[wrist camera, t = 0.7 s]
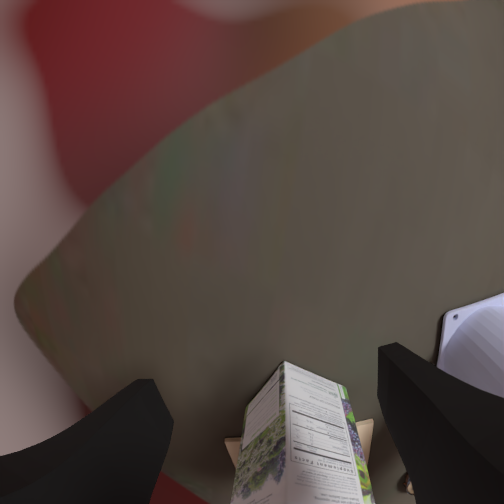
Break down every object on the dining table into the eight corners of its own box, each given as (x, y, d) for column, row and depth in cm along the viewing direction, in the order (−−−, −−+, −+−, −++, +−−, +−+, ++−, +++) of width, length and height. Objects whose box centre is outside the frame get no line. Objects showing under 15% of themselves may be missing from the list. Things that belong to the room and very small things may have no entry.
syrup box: (303, 428, 21) (313, 581, 7) (242, 405, 21) (216, 574, 7) (346, 384, 20) (391, 555, 6) (281, 356, 20) (283, 559, 6)
